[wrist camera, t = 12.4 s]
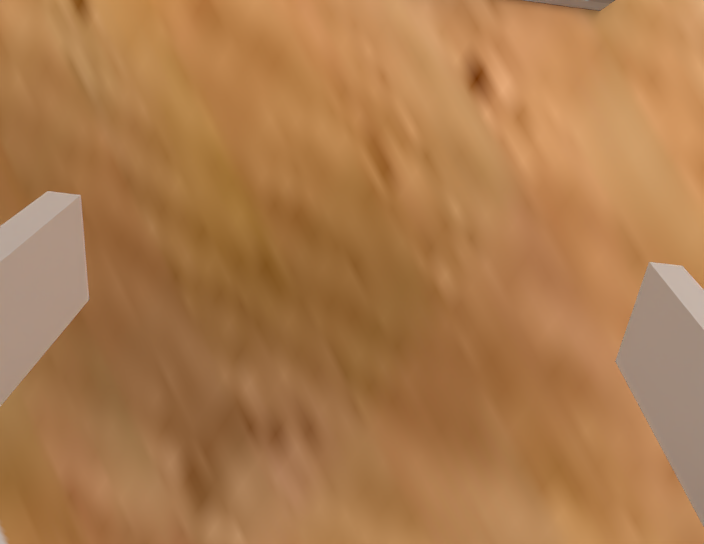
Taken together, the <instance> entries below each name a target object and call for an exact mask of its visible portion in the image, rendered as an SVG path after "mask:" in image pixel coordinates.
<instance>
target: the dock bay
mask: <svg viewBox="0 0 704 544" xmlns="http://www.w3.org/2000/svg"><path fill="white" fill-rule="evenodd" d="M524 1H532V2H539V3H547V4H554V5H562V6H569V7H576V8H584V9H591V10H599V11H600V10H602V9H603V8H605V7H606V6H608V5H609V4H610V3H612V2H613V1H615V0H524Z"/></svg>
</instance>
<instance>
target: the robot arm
mask: <svg viewBox="0 0 704 544" xmlns="http://www.w3.org/2000/svg"><path fill="white" fill-rule="evenodd" d="M88 301H89V290H88V278H87V266H86V253H85V241H84V228H83V216H82V203H81V195H76V194H68V193H59V192H51V191H47V192H46V193H44V194H43V195H42V196H40V197H39V198H38V199H36V200H35V201H34V202H32V203H31V204H29V205H28V206H27V207H25V208H24V209H23V210H21V211H20V212H19V213H17V214H16V215H15V216H13V217H12V218H11V219H9V220H8V221H6V222H5V223H4V224H2V225H1V226H0V406H1V405H2V404H3V403H4V402H5V400H6V399H7V398H8V397H9V396H10V394H11V393H12V392H13V391H14V390H15V388H16V387H17V386H18V385H19V384H20V382H21V381H22V380H23V379H24V378H25V376H26V375H27V374H28V373H29V371H30V370H31V369H32V368H33V367H34V365H35V364H36V363H37V362H38V361H39V359H40V358H41V357H42V356H43V355H44V353H45V352H46V351H47V350H48V349H49V347H50V346H51V345H52V344H53V343H54V341H55V340H56V339H57V338H58V337H59V335H60V334H61V333H62V332H63V331H64V329H65V328H66V327H67V326H68V325H69V323H70V322H71V321H72V320H73V319H74V317H75V316H76V315H77V314H78V313H79V311H80V310H81V309H82V308H83V307H84V305H85V304H86V303H87V302H88ZM615 362H616V364H617V365H618V367H619V369H620V371H621V373H622V375H623V377H624V379H625V380H626V382H627V384H628V386H629V388H630V390H631V392H632V394H633V395H634V397H635V399H636V401H637V403H638V405H639V407H640V409H641V410H642V412H643V414H644V416H645V418H646V420H647V422H648V423H649V425H650V427H651V429H652V431H653V433H654V435H655V437H656V438H657V440H658V442H659V444H660V446H661V448H662V450H663V452H664V453H665V455H666V457H667V459H668V461H669V463H670V465H671V467H672V468H673V470H674V472H675V474H676V476H677V478H678V480H679V482H680V483H681V485H682V487H683V489H684V491H685V493H686V495H687V497H688V498H689V500H690V502H691V504H692V506H693V508H694V510H695V511H696V513H697V515H698V517H699V519H700V521H701V523H702V525H703V526H704V290H703V289H702V287H701V286H700V285H699V284H698V283H697V282H696V281H695V280H694V278H693V277H692V276H691V275H690V274H689V273H688V272H687V271H686V270H685V268H684V267H683V266H679V265H671V264H662V263H654V262H649V264H648V267H647V270H646V273H645V276H644V279H643V282H642V284H641V287H640V290H639V293H638V296H637V299H636V302H635V305H634V308H633V311H632V314H631V317H630V320H629V323H628V326H627V329H626V332H625V335H624V337H623V340H622V343H621V346H620V349H619V352H618V355H617V358H616V361H615Z"/></svg>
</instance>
